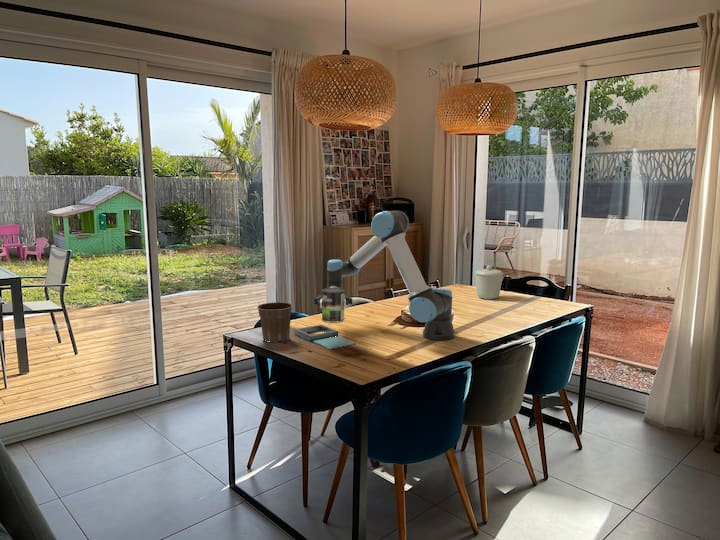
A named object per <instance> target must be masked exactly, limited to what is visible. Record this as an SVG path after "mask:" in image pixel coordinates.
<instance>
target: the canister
mask: <svg viewBox="0 0 720 540" xmlns="http://www.w3.org/2000/svg"><path fill="white" fill-rule="evenodd" d="M474 274H475V287H476V294H477V297H478V298H479V297H480V298H479V299H482V298H484V299H483V300H496V298H497V299H498V298H499V296H500V294H501V286H502V280H503V275H504V272H502V270H500V269H494V268H493V266H492V265H489V264H488V265H486V268H481V269H477V270H475V271H474Z"/></svg>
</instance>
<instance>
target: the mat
mask: <svg viewBox="0 0 720 540" xmlns="http://www.w3.org/2000/svg"><path fill="white" fill-rule="evenodd" d="M312 343H314V344H317V345H318V344H319V345H318V346H320V345H321V347H323V348H325V349H327V350H329V349H330V350H334V349H339V348H343V346H344V347H348V345H349V346H352V345H353V344H354V345H356V342H354V341H351V340H349V339H347V338H344V337H342V336H340V335H338V336H336V337H331V338H326V339H320V340H315V341H312ZM338 347H339V348H338ZM333 348H334V349H333Z"/></svg>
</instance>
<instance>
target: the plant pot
mask: <svg viewBox="0 0 720 540" xmlns="http://www.w3.org/2000/svg"><path fill="white" fill-rule="evenodd" d="M256 308H257V310H258V315H259V318H260V319H259V320H260V324H261V325H260V327H261V333H262V340H263V339H264V340H266V341H270V342H277V343H280V342H282V341H284V342H287V341H289V339H290V335H291V334H290V333H291V332H290V331H291V316H292V308H293V304H292V303H290V302H281V301H280V302H279V301H278V302H266V303H262V304H259V305H257V307H256ZM264 340H263V341H264ZM286 340H287V341H286Z"/></svg>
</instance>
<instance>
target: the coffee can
mask: <svg viewBox="0 0 720 540" xmlns="http://www.w3.org/2000/svg"><path fill="white" fill-rule="evenodd" d="M345 293H346V291H345V288H343V289H341V288H327V287H326V288H323V289H321V295H322V308H321V321H322V322H323V323H327V324H340V323H343V322H344V321H345V308H344V297H345Z"/></svg>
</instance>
